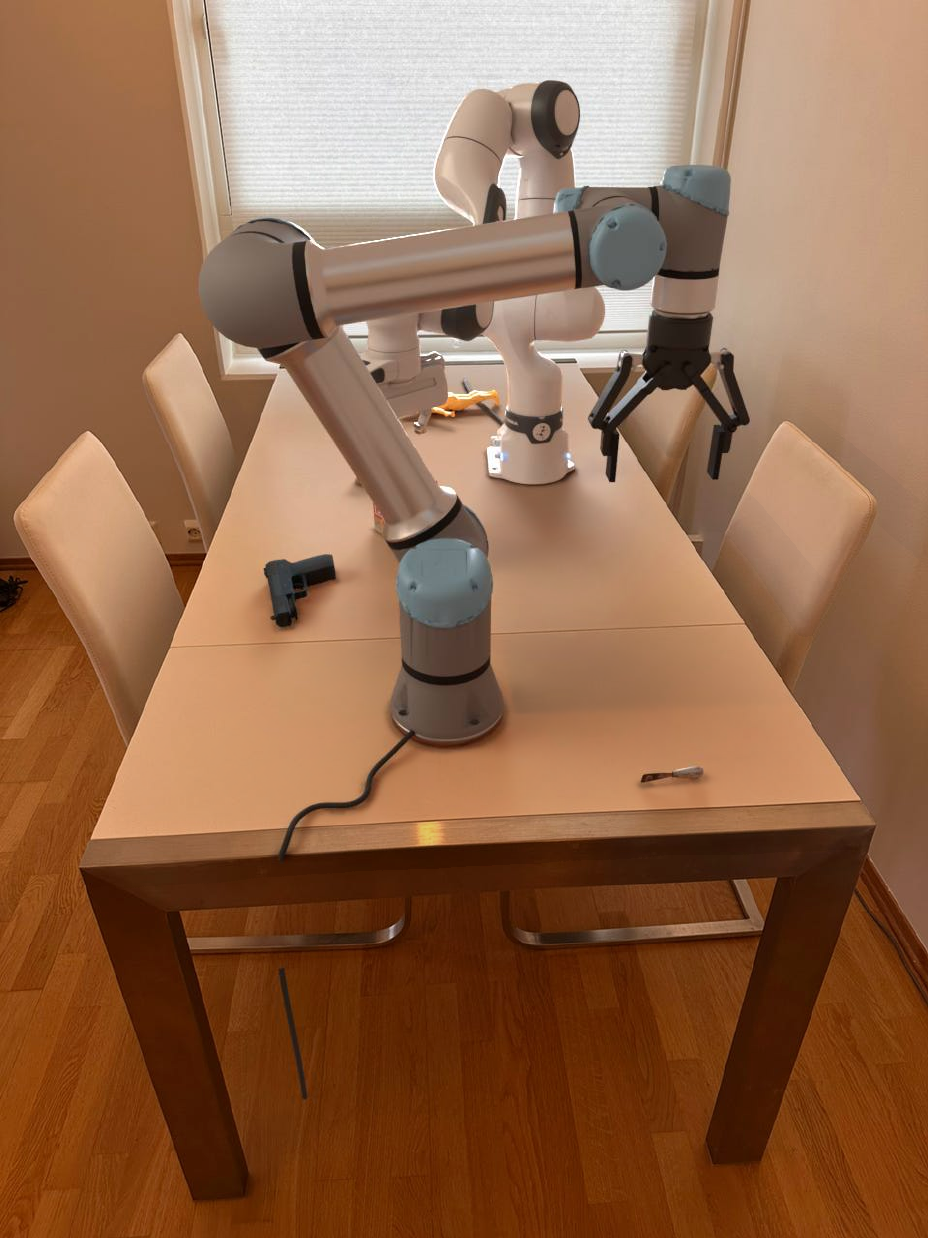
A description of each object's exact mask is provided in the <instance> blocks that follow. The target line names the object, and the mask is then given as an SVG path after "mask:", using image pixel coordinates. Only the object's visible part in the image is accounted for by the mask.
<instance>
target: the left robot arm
mask: <svg viewBox="0 0 928 1238" xmlns="http://www.w3.org/2000/svg"><path fill="white" fill-rule="evenodd" d="M662 175H663V176H662V180H661V181H660V185H653V186H648V187H645V186H644V187H643V186H641V187H639V186H636V187H635V186H633V187H632V186H590V185H583V186H580V187H579V186H578V187H577V186H576V187H575V188H564V189H562V190H560V191H559V192H558V194H557V196H556V199H555V204H554V213H550V214H544V215H537V216H531V217H525V218H518V219H515V218H512V219H506V221H499V222H493V223H486V224H480V225H474V224H473V225H467V226H462V227H456V228H447V229H443V230H435V231H429V232H422V233H418V234H417V233H416V234H410V235H405V236H397V237H391V238H385V239H380V240H373V241H366V242H359V243H353V244H345V245H341V246H335V247H334V246H333V247H329V248H327V247H326V248H324V247H322V246H320V245H319V244H318V243H316V241H315V239H313V237H312V236H311V235H310V234H309V233H308V232H307V231H306V230H305V229H304V228H303V227H300V226H299V225H298V224H296V223H294V222H292V221H290V220H287V219H283V218H279V217H262V218H259V217H258V218H255V219H251V220H249V221H248V222H246V223H245V222H244V223H243V224H240V225H238V226H237V228H235V229H234V230H232V231H231V232H230V233H229V234H228V235H227V236H226V237H225V238H224V239H223V240H221V241H220V242H218V243H217V244H216V245H215V246H214V247H213V248H212V249H211V250H210V251H209V252H208V254H207V255H206V257H205V259H204V260H203V263H202V265H201V267H200V271H199V275H198V296H199V300H200V304H201V307H202V311H203V313H204V314H205V316H206V318H207V319H208V321H209V323H210V324H211V325H212V326H213V328H214V329H215V330H216V331H217V332H219V333H220V335H222V336H223V337H224V338H226V339H228V340H229V341H231V342H233V343H235V344H237V345H241V346H243V347H247V348H252V349H257V351H258V352H259V353H260V355H261V356H262V358H263V359H264V361H265V362H269V363H272V364H277V365H281V366H282V367H283V368H284V369H285V370H286V371H287V373H288V375H289V376H290V378H291V379H292V381H293V382H294V384H295V385H296V387H297V388H298V390H299V392H300V393H301V394H302V396H303V398H304V399H305V401H306V402H307V404H308V405H309V407H310V408H311V410H312V412H313V413H314V414H315V416H316V417H317V419H318V421H319V422H320V424H321V425H322V427H323V428H324V430H325V432H326V433H327V434H328V435H329V437H330V439H331V440H332V442H333V444H334V445H335V446H336V448H337V449H338V451H339V452H340V454H341V456H342V458H343V459H344V460H345V461H346V463H347V464H348V466H349V468H350V469H351V471H352V472H353V474H354V475H355V477H356V479H357V478H358V480H359V481H360V483H361V484H360V483H359V484H360V485H361V486H362V487H363V489H364V490H365V492H366V494H367V495H368V497H369V498H370V500H371V501H372V504H373V503H374V504H375V506H376V507H377V509H378V510H379V512H380V513H381V515H382V516H383V518H384V519H385V521H384V526H383V530H382V533H381V536H382V538H383V540H384V541H385V543H386V545H387V546H388V548H389V549H390V550H391V552H392V553H393V555H394V556H395V558H396V560H397V561H398V562H399V565H398V568H397V575H396V581H395V589H396V594H397V597H398V613H399V615H398V616H399V632H400V634H399V635H400V655H401V667H400V669H399V672H398V675H397V678H396V681H395V684H394V687H393V690H392V693H391V696H390V718H391V721H392V724H393V725H394V727H395V728H396V729H397V731H398V732H399V733H400V734H402V735H403V737H402V738H401V739H400V740H399V741H398V742H397V743H396V744H395V746H393V747H392V748H391V749H390V750H389V751H388V752H387V753H386V754H385V755H384V756H383V757H381V759H379V761H377V762H376V764H375V765H374V766H373V767H372V768H371V770H370V771H369V773H368V775H367V777H366V781H365V787H364V791H363V793H362V794H361V795H360V796H359V797H357V798H355V799H353V800H350V801H338V802H337V801H336V802H334V801H331V802H330V801H329V802H328V801H327V802H326V801H325V802H318V803H314V804H311V805H309V806H306V807H305V808H304V809H302V810H301V811H299V812H298V813H297V814H296V815H294V817H293V818H292V819H291V821H290V822H289V825H288V827H287V829H286V832H285V835H284V838H283V841H282V844H281V847H280V849H279V852H278V854H277V855H278V856H277V861H281V862H282V860H284V859H285V857H286V853H287V851H288V848H289V845H290V842H291V839H292V836H293V833H294V831H295V828H296V827H297V824H298V823H300V822H301V820H302V819H303V818H305V817H306V816H307V815H309V814H310V813H313V812H314V811H318V810H323V809H337V810H338V809H350V808H354V807H357V806H359V805H361V804H362V803H364V802H365V801H366V800H367V799H368V797H369V796H370V793H371V791H372V785H373V780H374V777H375V776H376V774H377V773H378V772H379V771H380V769H381V768H382V767H383V766H384V765H385V764H386V763H387V762H388V761H389V760H390V759H392V758H393V757H394V756H395V755H396V754H397V752H399V751H400V750H401V749H402V747H404V745H406V743H407V742H409V741H410V740H411V741H413V742H415V743H417V744H420V745H421V744H422V745H425V746H430V747H437V748H454V747H455V748H457V747H463V746H467V745H471V744H473V743H476V742H480V741H481V740H483V739H485V738H486V737H488V736H489V735H491V734H492V733H493V732H494V731H495V730H496V729H498V727H499V726H500V724H501V722H502V720H503V717H504V697H503V693H502V690H501V687H500V685H499V682H498V679H497V677H496V674H495V672H494V668H493V666H492V664H491V654H492V653H491V651H492V649H491V648H492V647H491V645H492V643H491V642H492V641H491V640H492V595H493V589H494V578H493V573H492V569H491V563H490V561H489V550H490V549H489V541H488V534H487V531H486V529H485V527H484V525H483V522H482V521H481V519H480V518H479V516H478V515H477V514H476V513H475V512H474V510H473V509H471V508H470V507H469V506H467V505H465V504H464V503H463V502H462V500H461V498H460V497H459V496H458V493H456V491H455V490H454V489H453V488H452V487H447V486H443V485H442V486H441V485H439V484H438V481H437V480H436V479H435V477H434V476H433V474H432V473H431V471H430V469H429V467H428V466H427V464H426V462H425V460H424V459H423V458H422V456H421V454H420V453H419V451H418V449H417V448H416V446H415V444H414V442H413V441H412V440H411V438H410V436H409V435H408V432H406V430H405V428H404V427H403V425H402V423H401V422H400V420H399V418H397V417H396V415H395V413H394V412H393V410H392V408H391V407H390V405H389V403H388V402H387V400H386V398H385V397H384V395H383V393H382V392H381V390H380V389H379V387H378V385H377V384H376V382H375V380H374V379H373V377H372V375H371V374H370V372H369V370H368V369H367V367H366V365H365V364H364V362H363V361H362V359H361V357H360V354H359V352H358V351H357V348H356V347H355V345H354V344H353V342H352V341H351V339H350V338H349V336H348V334H347V332H346V331H345V329H344V326H345V325H351V324H358V323H364V322H365V323H366V321H371V320H378V319H384V318H391V317H397V316H404V315H410V314H416V313H423V312H429V311H436V310H442V309H449V308H455V307H462V306H468V305H475V304H481V303H488V302H494V301H501V300H507V299H514V298H520V297H527V296H533V295H540V294H546V293H552V292H559V291H565V290H572V289H579V288H589V287H595V288H596V287H602V286H605V287H607V288H609V289H614V290H618V291H623V292H625V291H633V290H638V289H640V288H642V287H644V286H645V285H647V284H648V283H650V282H651V281H652V286H651V287H652V288H651V295H650V302H649V303H650V307H651V308H652V310H651V311H650V312H649V314H648V321H647V333H646V340H645V341H646V342H645V348H644V350H643V353H633V352H632V353H631V352H629V351H628V350H626V349H622V350H621V351H620V352H619V354H618V357H617V363H616V368H615V370H614V371H613V372H612V375H611V376H610V378H609V380H608V381H607V383H606V385H605V386H604V389H603V390H602V392H601V394H600V395H599V397H598V398H597V401H596V402H595V404H594V406H593V408H592V409H591V411H590V413H588V414H589V415H588V416H587V420H588V423H589V425H590V426H591V428H592V429H593V430H599V431H601V432H600V433H601V434H600V445H599V449H600V452H601V454H602V456H603V457H606V467H605V476H606V478H607V480H608V482H609V483H616V478H617V467H618V466H617V465H618V457H619V445H620V432H619V431H618V427H619V426H620V425H621V424H623V422H624V421H625V420H626V419H627V418H628V417H629V416H630V415H631V414H632V413H633V411H634V410H635V409H636V408H638V406H640V404H641V403H642V402H643V401H644V400H645V399H646V397H647V396H649V395H651V394H653V392H654V391H655V390H657V388H658V389H660V391H670V390H673V389H674V390H678V391H687V390H688V389H689V388H691V387H692V386H693V387H694V388H695V389H696V391H697V393H698V394H699V395H700V397H701V398H702V399H703V400H704V402H705V403H706V405H707V406H708V407H709V409H710V410H711V411H712V413H713V414H714V415H715V417H716V418H717V420H718V422H720V424H713V428H712V433H711V441H710V447H709V455H708V462H707V467H706V474H708V476H709V477H710V478H711V479H712V481H715V480H716V481H717V480H719V477H720V471H721V465H722V459H723V454H729V453H730V450H731V447H732V446H731V445H732V439H733V433H735V432H736V431H737V430H738V427H740V426H744V427H745V426H748V425H749V424H750V422H751V419H750V415H749V412H748V410H747V407H746V403H745V400H744V398H743V395H742V391H741V389H740V387H739V383H738V381H737V378H736V375H735V372H734V371H735V370H734V368H735V365H734V364H735V355H734V354H733V353H732V352H731V351H730V350H729V349H728V348H726V347H721V348H719V350H718V351H714V352H713V351H712V352H710V344H711V337H712V329H713V323H714V316H713V315H712V313H711V312H712V311H713V310H714V309H715V308H716V303H717V302H716V301H717V294H718V285H719V278H720V268H721V267H720V266H721V260H722V254H723V247H724V242H725V234H726V230H727V229H726V228H727V222H728V217H729V216H730V211H729V210H730V196H731V182H732V177H731V175H730V172H729V171H728V170H727V169H726V168H724V167H721V166H718V165H717V166H715V165H709V164H684V165H671V166H668V167H667V168H666V169H665V170H664V172H663V174H662ZM711 364H713V367H714V368H715V369H716V370H717V371H718V374H719V375H720V379H721V381H722V384H723V387H724V390H725V393H726V396H727V398H728V401H729V404H730V407H731V410H732V414H730V415H729V413H728V412H727V411H726V409H725V408H724V406H723V405H722V403H721V402H720V401H719V400H718V398H717V397H716V395H715V394H714V393H713V391H712V389H711V388H710V387H709V386H708V384H707V383H706V381H705V380H704V378H703V377H702V374H703V373H704V372H705V371H706V370H707V369H708V368H709V366H711ZM640 365H641V366H642V367H643V370H644V371H645V372H644V373H643V374H642V375H640V377H639V378H638V380H637V382H636V384H634V385H633V387H632V388H631V389H630V390H629V391H628V392H627V393H626V394H625V395H624V396H623V397H622V398H621V399H620V401H618V402H617V403H616V405H615V406H614V407H613V405H614V403H615V401H616V400H617V398H618V397H619V395H620V393H621V391H622V390H623V388H624V386H625V385H626V383H627V381H628V379H629V377H630V374H631V373H634V372H635V371H636V369H637V367H638V366H640ZM612 407H613V408H612ZM611 408H612V409H611ZM435 480H436V481H437V482H436V481H435ZM285 969H286V968H285V967H281V968H278V969H277V970H278V971H277V972H278V978H279V982H280V988H281V994H282V998H283V999H282V1000H283V1004H284V1010H285V1014H286V1019H287V1023H288V1029H289V1034H290V1038H291V1043H292V1048H293V1053H294V1059H295V1063H296V1069H297V1074H298V1080H299V1086H300V1092H301V1098H302V1099H301V1100H303V1101H306V1100H307V1099H308V1090H307V1084H306V1077H305V1073H304V1066H303V1060H302V1055H301V1051H300V1046H299V1040H298V1035H297V1034H298V1033H297V1030H296V1029H297V1028H296V1024H295V1020H294V1014H293V1010H292V1004H291V1000H290V993H289V988H288V983H287V976H286V970H285Z"/></svg>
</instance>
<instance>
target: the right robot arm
mask: <svg viewBox="0 0 928 1238" xmlns="http://www.w3.org/2000/svg"><path fill="white" fill-rule="evenodd" d="M580 121H581V108H580V103H579V99H578V97H577V94H576V93H575V91H574V89H573V88H572V86H571V85H570V84H568V83H567V82H564V81H561V80H554V79H548V80H544V81H540V82H539V81H538V82H526V83H520V84H516V85H515V84H514V86H512V87H508V88H504V89H501V90H498V91H494V90H491V89H487V88H478V89H473V90H471V91H470V92H468V93H467V94H466V95H465V96H464V97H463V98H462V99H461V101H460V103H459V105H458V106H457V108H456V110H455V112H454V113H453V115H452V117H451V120H450V121H449V124H448V125H447V129H446V130H445V133H444V135H443V138H442V141H441V143H440V147H439V148H438V152H437V153H436V158H435V161H434V166H433V172H432V173H433V174H432V175H433V182H434V186H435V189H436V191H437V193H438V195H439V196H440V198H441V199H442V201H444V203H446V205H447V206H449V207H450V208H451V210H453V211H454V212H456V213H457V214H459V215H460V216H462V217H464V218H466V219H467V220H468V221H470V222H472V223H473V226H474V225H480V224H486V223H493V222H499V221H506V220H507V212H508V210H507V208H508V206H507V198H506V194H505V191H504V190H503V188H501V187H500V175H501V172H502V170H503V166H504V163H505V159H506V158H517V161H518V164H519V174H518V180H517V186H516V187H517V188H516V199H515V211H514V212H515V215H514V219H518V218H525V217H531V216H537V215H544V214H550V213H554V204H555V199H556V196H557V194H558V192H559V191H560V190H562V189H564V188H576V171H575V159H574V158H575V157H574V152H573V149H572V147H573V144H574V141H575V139H576V136H577V133H578V131H579V126H580ZM605 317H606V305H605V301H604V298H603V295H602V294H601V292H600V291H599V290H598V289H597V288H596V286H595V287H589V288H579V289H572V290H565V291H559V292H552V293H546V294H540V295H533V296H527V297H520V298H514V299H507V300H501V301H494V302H488V303H481V304H475V305H468V306H462V307H455V308H449V309H442V310H436V311H429V312H423V313H416V314H410V315H404V316H397V317H391V318H384V319H378V320H371V321H365V323H366V326H367V331H368V336H367V339H366V350H365V351H363V352H362V353H361V354H359V356H360V357H361V359H362V361H363V362H364V364H365V365H366V367H367V369H368V370H369V372H370V374H371V375H372V377H373V379H374V380H375V382H376V384H377V385H378V387H379V389H380V390H381V392H382V393H383V395H384V397H385V398H386V400H387V402H388V403H389V405H390V407H391V408H392V410H393V412H394V413H395V415H396V417H397V418H398V419H399V418H403V417H406V416H410V415H413V414H417V413H419V416H418V419H417V422H414V423H413V430H414V433H415V434H417V435H419V436H421V435H423V434H426V433H427V424H428V422H429V420H430V418H431V416H432V412H431V408H434V407H438V406H441V405H444V404H445V403H446V402H447V399H448V393H449V388H448V381H447V375H446V371H445V370H446V360H445V357H443V355H442V354H441V353H439V352H437V351H432V352H429V353H428V354H421V340H420V337H419V333H418V332H419V331H423V332H424V333H425V332H426V333H430V334H437V335H444V336H447V337H450V338H454V339H457V340H459V341H460V340H461V341H463V342H471V341H473V340H474V339H475V340H476V338H478V337H479V336H480V335H483V336H484V337H485V338H487V340H489V341H490V342H491V343H492V344H493V346H494V347H495V349H496V350H497V352H498V353H499V354H500V357H501V358H502V361H503V364H504V368H505V372H506V377H507V378H506V380H507V405H506V407H505V411H504V419H502V418H501V417H500V416H499V415H497V413H495V411H493V410H492V409H491V408H489V407H488V406H487V405H486V404H485V403H484V402H483V401H482V402H478V403H477V404H478V405H480V406H481V407H482V408H483V409H484V410H485V411H487V412H488V413H489V414H490V415H491V416H492V417H493V418H495V419H496V421H498V422H499V423H500V424H501V426H500V427H499V428H498V429H497V432H496V436H491V437H490V446H489V447H487V449H486V458H487V469H488V476H489V477H491V478H496V479H503V480H506V481H508V482H512V483H516V484H522V485H546V484H552V483H555V482H558V481H560V480H562V479H563V478H564V477H565V476H566V474H568V473H571V472H572V471H574V470H575V464H574V463H573V462H572V461H571V460H569V459H571V454H570V453H569V433H568V432H567V431H566V430H565V429H564V428H563V425H564V416H565V415H564V408H563V406H562V403H563V402H562V401H563V386H564V385H563V384H564V383H563V382H564V374H563V371H562V369H561V367H560V366H559V365H558V363H556V362H555V361H554V360H553V359H551V358H549V357H548V356H546V355H544V354H542V353H541V352H540V351H539V350H538V349H537V348H536V345H535V343H534V342H551V343H552V342H553V343H554V342H555V343H556V342H557V343H572V342H581V341H586V340H592V339H593V338H594V337H595V336H596V335H597V334H598V333H599V332H600V330H601V328H602V326H603V324H604V322H605ZM462 382H463V385H464V387H465V389H466V391H467V393H468V394H469V393H471V392H473V391H472V390H471V388H470V386H469V384H468V382H467V379H466V378H465V377H464V378H462Z"/></svg>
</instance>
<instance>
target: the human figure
mask: <svg viewBox="0 0 928 1238" xmlns="http://www.w3.org/2000/svg"><path fill="white" fill-rule="evenodd" d="M488 400H493V402H494V403H495V404H496V405H497V406H500V398H499V393H498V392H497V391H496V390H495V389H493V390H491V391H478V390H473V391H472V392H471V393H469V392H468V394H460V393H457V394H455V393H453V392H448V399H447V402H446V403H445V404H444V405H441V406H438V407H434V408H431V414H439V415H443V416H444V417H449V416H450V417H451V418H452V417H453V418H454V417H455V416H456V414H455V411H462V410H464V409H467V408H469V407H471V406H473V405H476V404H479V403H478V402H482V403H483V402H484V401H488ZM450 410H452V411H450Z"/></svg>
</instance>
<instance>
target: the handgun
mask: <svg viewBox="0 0 928 1238" xmlns="http://www.w3.org/2000/svg"><path fill="white" fill-rule="evenodd" d="M333 556H334V555H332V554H330V553H325V554H319V555H315V556H312V557H307V558H304V559H300V560H298V561H295V562H291V561H289V560H287V559H285V558H282V559H281V558H280V559H274V560H270V561H268V562H267V563H266V564H265V565H264V567H263V575H264V576H265V578H266V579H267V584H268V589H269V594H270V600H271V604H272V610H273V615H270V618H269V619H270V620H272V621H275V625H276V626H277V627H279V628H287V627H292V624H293V619H295V621H298V619H299V616H298V608H297V604H296V603H297V602H296V601H297V600H302V599H305V598H308V588H309V587H312V586H317V585H320V584H323V583H326V582H329V581H330V582H331V581H336V579H337V578H336V577H337V576H336V575H337V574H336V566H335V562H334V557H333ZM296 590H299V591H296Z"/></svg>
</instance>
